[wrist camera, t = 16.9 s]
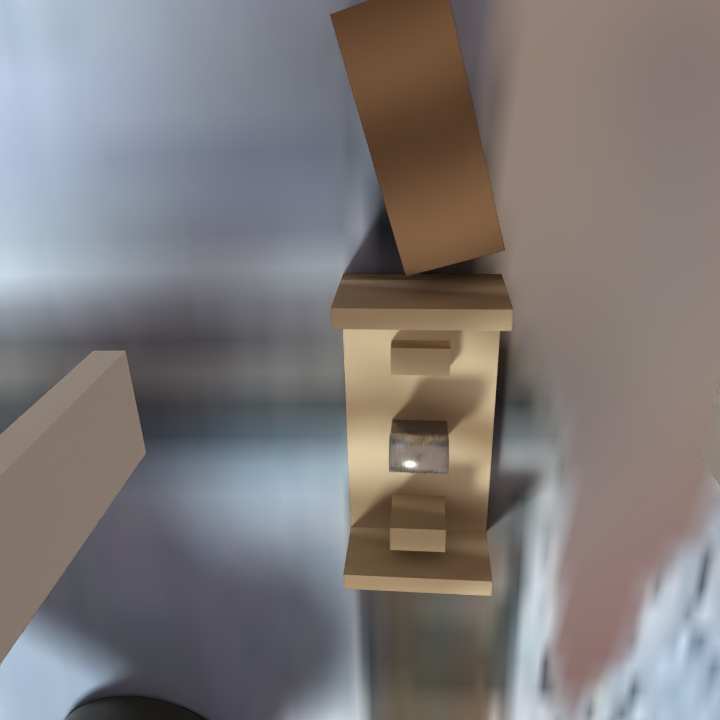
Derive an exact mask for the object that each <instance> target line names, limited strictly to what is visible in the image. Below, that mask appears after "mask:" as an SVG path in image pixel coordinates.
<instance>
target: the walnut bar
mask: <svg viewBox="0 0 720 720" xmlns="http://www.w3.org/2000/svg"><path fill="white" fill-rule="evenodd" d="M330 16H331V19H332V23H333V26H334V30H335V33H336V36H337V40H338V43H339V47H340V50H341V54H342V57H343V61H344V64H345V68H346V71H347V75H348V78H349V81H350V85H351V88H352V92H353V95H354V99H355V102H356V106H357V109H358V113H359V116H360V119H361V123H362V126H363V130H364V133H365V137H366V140H367V144H368V147H369V151H370V154H371V158H372V161H373V164H374V168H375V171H376V175H377V178H378V182H379V185H380V189H381V192H382V196H383V199H384V202H385V206H386V209H387V213H388V216H389V220H390V223H391V227H392V230H393V234H394V237H395V241H396V244H397V247H398V251H399V254H400V258H401V261H402V265H403V268H404V272H405V275H406V276H410V275H414V274H417V273H421V272H425V271H429V270H433V269H436V268H440V267H444V266H448V265H451V264H455V263H459V262H463V261H467V260H470V259H474V258H478V257H482V256H486V255H489V254H493V253H497V252H501V251H505V248H504V243H503V239H502V234H501V230H500V225H499V221H498V216H497V212H496V207H495V203H494V198H493V194H492V189H491V185H490V180H489V176H488V171H487V167H486V162H485V158H484V153H483V149H482V144H481V140H480V135H479V131H478V126H477V122H476V117H475V113H474V108H473V104H472V99H471V95H470V90H469V86H468V81H467V77H466V72H465V68H464V63H463V59H462V54H461V50H460V45H459V41H458V36H457V32H456V27H455V23H454V18H453V14H452V9H451V5H450V1H449V0H370V1H367V2H364V3H361V4H358V5H356V6H353V7H350V8H347V9H344V10H342V11H339V12H336V13H333V14H330Z"/></svg>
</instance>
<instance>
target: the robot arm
mask: <svg viewBox="0 0 720 720" xmlns="http://www.w3.org/2000/svg"><path fill="white" fill-rule="evenodd" d="M145 454H146V450H145V445H144V440H143V435H142V430H141V425H140V420H139V415H138V410H137V405H136V400H135V396H134V391H133V386H132V381H131V376H130V371H129V366H128V361H127V356H126V351H92V352H91V353H90V354H89V355H88V356H87V357H86V358H85V359H84V360H82V361H81V362H80V363H79V364H78V365H77V366H76V367H75V368H74V369H72V370H71V371H70V372H69V373H68V374H67V375H66V376H65V377H64V378H62V379H61V380H60V381H59V382H58V383H57V384H56V385H55V386H54V387H52V388H51V389H50V390H49V391H48V392H47V393H46V394H45V395H44V396H42V397H41V398H40V399H39V400H38V401H37V402H36V403H35V404H34V405H32V406H31V407H30V408H29V409H28V410H27V411H26V412H25V413H24V414H22V415H21V416H20V417H19V418H18V419H17V420H16V421H15V422H14V423H12V424H11V425H10V426H9V427H8V428H7V429H6V430H5V431H4V432H2V433H1V434H0V664H1V663H2V661H3V660H4V658H5V657H6V656H7V654H8V653H9V651H10V650H11V648H12V647H13V645H14V644H15V643H16V641H17V640H18V638H19V637H20V635H21V634H22V632H23V631H24V629H25V628H26V627H27V625H28V624H29V622H30V621H31V619H32V618H33V616H34V615H35V614H36V612H37V611H38V609H39V608H40V606H41V605H42V603H43V602H44V601H45V599H46V598H47V596H48V595H49V593H50V592H51V590H52V589H53V587H54V586H55V585H56V583H57V582H58V580H59V579H60V577H61V576H62V574H63V573H64V572H65V570H66V569H67V567H68V566H69V564H70V563H71V561H72V560H73V559H74V557H75V556H76V554H77V553H78V551H79V550H80V548H81V547H82V545H83V544H84V543H85V541H86V540H87V538H88V537H89V535H90V534H91V532H92V531H93V530H94V528H95V527H96V525H97V524H98V522H99V521H100V519H101V518H102V516H103V515H104V514H105V512H106V511H107V509H108V508H109V506H110V505H111V503H112V502H113V501H114V499H115V498H116V496H117V495H118V493H119V492H120V490H121V489H122V488H123V486H124V485H125V483H126V482H127V480H128V479H129V477H130V476H131V474H132V473H133V472H134V470H135V469H136V467H137V466H138V464H139V463H140V461H141V460H142V459H143V457H144V456H145ZM702 461H703V462H704V464H705V465H706V466H707V468H708V469H709V471H710V472H711V474H712V475H713V476H714V478H715V479H716V481H717V482H718V484H719V485H720V377H719V382H718V387H717V391H716V396H715V401H714V406H713V411H712V415H711V420H710V425H709V430H708V435H707V440H706V444H705V449H704V454H703V459H702ZM65 720H204V719H202V718H200V717H199V716H197V715H195V714H193V713H191V712H189V711H187V710H185V709H182V708H180V707H177V706H174V705H171V704H168V703H165V702H161V701H157V700H152V699H147V698H139V697H111V698H104V699H100V700H96V701H92V702H90V703H87V704H85V705H83V706H81V707H79V708H77V709H76V710H74V711H73V712H72V713H71V714H69V715H68V716H67V718H66V719H65Z"/></svg>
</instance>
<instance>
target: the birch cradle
mask: <svg viewBox="0 0 720 720" xmlns="http://www.w3.org/2000/svg"><path fill="white" fill-rule="evenodd" d="M512 320H513V307H512V304H511V301H510V298H509V295H508V292H507V289H506V286H505V283H504V280H503V277H502V274H414V275H410V276H406V275H405V274H343V276H342V279H341V282H340V285H339V287H338V290H337V293H336V295H335V298H334V301H333V303H332V306H331V325H332V329H343V338H344V363H345V388H346V413H347V438H348V463H349V487H350V512H351V531H350V537H349V543H348V550H347V556H346V562H345V568H344V589H362V590H383V591H403V592H424V593H445V594H466V595H487V596H491V590H492V576H491V568H490V560H489V552H488V543H487V535H486V527H487V512H488V498H489V483H490V469H491V455H492V440H493V426H494V412H495V397H496V383H497V368H498V354H499V340H500V331H512Z"/></svg>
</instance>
